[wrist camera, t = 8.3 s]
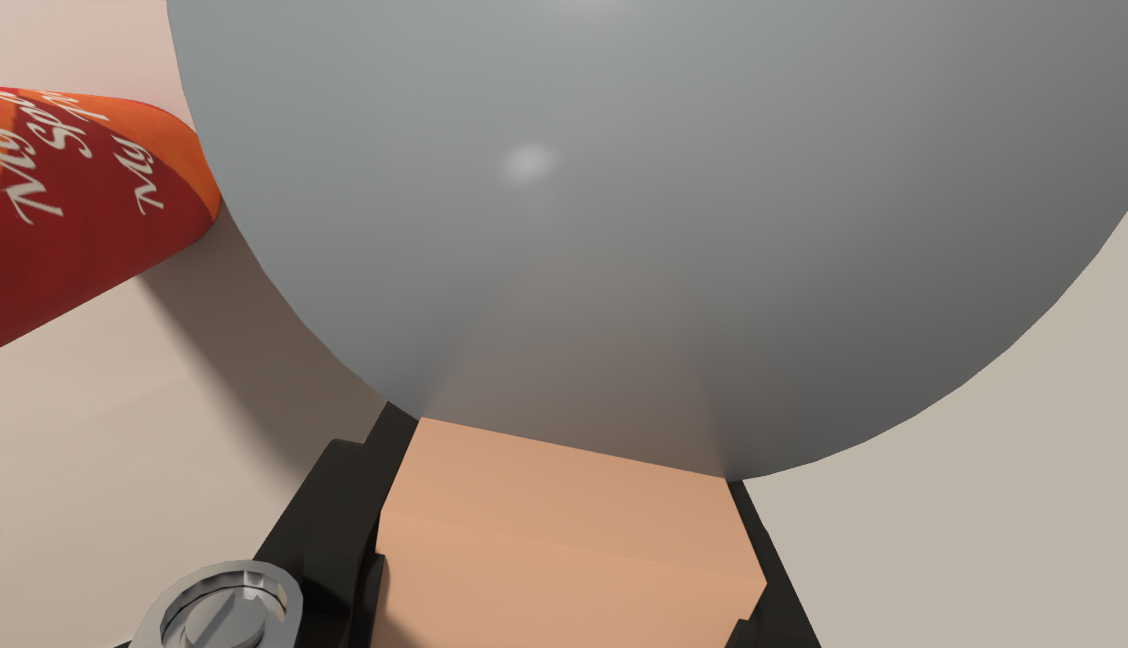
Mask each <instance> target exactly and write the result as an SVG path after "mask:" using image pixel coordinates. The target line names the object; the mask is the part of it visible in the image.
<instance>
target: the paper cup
mask: <svg viewBox="0 0 1128 648" xmlns="http://www.w3.org/2000/svg"><path fill="white" fill-rule="evenodd" d="M220 202H221V192H220V190H219V188H218V186H217V183H216V181H215V179H214V177H213V174H212V172H211V170H210V168H209V166H208V163H207V161H206V159H205V157H204V154H203V151H202V147H201V144H200V141H199V138H198V136H197V135H196V133H195V132H194V131H193V130H192V129H191V128H189V127H188V126H187V125H186V124H185V123H184V122H182V121H181V120H180V119H178V118H177V117H175V116H174V115H172V114H170V113H169V112H167V111H165V110H163V109H160V108H158V107H155V106H153V105H150V104H146V103H142V102H138V101H133V100H126V99H119V98H111V97H102V96H93V95H83V94H72V93H62V92H51V91H40V90H29V89H18V88H6V87H0V347H2V346H4V345H6V344H8V343H10V342H12V341H14V340H16V339H17V338H19V337H21V336H23V335H25V334H27V333H29V332H31V331H32V330H34V329H36V328H38V327H40V326H42V325H44V324H46V323H48V322H49V321H51V320H53V319H55V318H57V317H59V316H61V315H63V314H65V313H66V312H68V311H70V310H72V309H74V308H76V307H78V306H80V305H82V304H83V303H85V302H87V301H89V300H91V299H93V298H95V297H96V296H98V295H100V294H102V293H104V292H106V291H108V290H110V289H111V288H113V287H115V286H117V285H119V284H121V283H123V282H124V281H126V280H128V279H130V278H132V277H134V276H136V275H137V274H139V273H141V272H143V271H145V270H147V269H149V268H150V267H152V266H154V265H156V264H158V263H160V262H161V261H163V260H165V259H167V258H169V257H170V256H172V255H174V254H176V253H177V252H179V251H181V250H183V249H184V248H186V247H187V246H189V245H191V244H192V243H194V242H195V241H197V240H198V239H199V238H201V237H202V236H203V235H204V234H205V233H206V232H207V231H208V230H209V229H210V227H211V226H212V224H213V223H214V221H215V219H216V217H217V214H218V211H219V208H220Z"/></svg>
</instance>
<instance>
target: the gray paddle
mask: <svg viewBox="0 0 1128 648" xmlns="http://www.w3.org/2000/svg"><path fill="white" fill-rule="evenodd" d="M166 1H167V13H168V19H169V24H170V29H171V34H172V39H173V44H174V49H175V54H176V58H177V63H178V68H179V73H180V78H181V83H182V88H183V92H184V95H185V98H186V101H187V104H188V107H189V110H190V113H191V116H192V120H193V123H194V126H195V129H196V132H197V135H198V138H199V141H200V144H201V147H202V151H203V154H204V157H205V159H206V161H207V163H208V166H209V168H210V170H211V172H212V174H213V177H214V179H215V181H216V183H217V186H218V188H219V190H220V192H221V194H222V197H223V199H224V201H225V203H226V205H227V208H228V210H229V212H230V214H231V217H232V219H233V220H234V222H235V224H236V225H237V227H238V229H239V230H240V232H241V234H242V235H243V237H244V239H245V240H246V242H247V244H248V245H249V247H250V249H251V251H252V252H253V254H254V256H255V257H256V259H257V261H258V262H259V264H260V266H261V267H262V269H263V271H264V272H265V274H266V275H267V276H268V278H269V279H270V280H271V282H272V283H273V284H274V286H275V287H276V288H277V290H278V291H279V292H280V293H281V295H282V296H283V297H284V299H285V300H286V301H287V303H288V304H289V305H290V307H291V308H292V309H293V311H294V312H295V313H296V315H297V316H298V317H299V319H300V320H301V321H302V322H303V323H304V324H305V325H306V326H307V327H308V328H309V329H310V330H311V332H312V333H313V334H314V335H315V336H316V337H317V338H318V339H319V340H320V341H321V342H322V343H323V344H324V345H325V346H326V347H327V348H328V349H329V350H330V351H331V352H332V354H333V355H334V356H335V357H336V358H337V359H338V360H339V361H340V362H341V363H342V364H344V365H345V366H346V367H347V368H348V369H350V370H351V371H352V372H353V373H354V374H356V375H357V376H358V377H359V378H360V379H362V380H363V381H364V382H365V383H366V384H368V385H369V386H370V387H371V388H372V389H374V390H375V391H376V392H377V393H378V394H380V395H381V396H382V397H383V398H385V399H386V400H388V401H389V402H391V403H392V404H394V405H395V406H397V407H398V408H400V409H401V410H403V411H404V412H406V413H407V414H409V415H410V416H412V417H414V418H415V419H417V420H418V421H419V423H418V426H417V428H416V430H415V433H414V435H413V437H412V440H411V442H410V445H409V447H408V449H407V452H406V454H405V456H404V459H403V461H402V463H401V466H400V468H399V470H398V473H397V475H396V477H395V480H394V482H393V485H392V487H391V489H390V492H389V494H388V496H387V499H386V501H385V503H384V506H383V508H382V510H381V516H380V523H379V529H378V536H377V543H376V549H375V553H378V554H383V555H385V558H384V564H383V571H382V577H381V583H380V589H379V596H378V602H377V608H376V615H375V621H374V627H373V633H372V640H371V646H370V648H724V647H725V645H726V643H727V641H728V639H729V637H730V635H731V633H732V631H733V629H734V627H735V625H736V623H737V621H738V619H744V620H748V619H749V618H750V616H751V614H752V612H753V610H754V608H755V606H756V604H757V602H758V600H759V598H760V596H761V594H762V592H763V590H764V588H765V586H766V584H767V582H766V579H765V577H764V575H763V572H762V570H761V567H760V565H759V562H758V560H757V557H756V555H755V552H754V550H753V547H752V545H751V542H750V540H749V538H748V535H747V533H746V530H745V528H744V525H743V523H742V520H741V518H740V515H739V513H738V510H737V508H736V505H735V503H734V500H733V498H732V496H731V493H730V491H729V488H728V486H727V482H733V481H739V480H744V479H749V478H755V477H761V476H766V475H770V474H773V473H776V472H780V471H784V470H787V469H791V468H794V467H797V466H801V465H805V464H808V463H812V462H815V461H818V460H820V459H823V458H825V457H827V456H830V455H833V454H835V453H838V452H840V451H843V450H845V449H848V448H850V447H853V446H856V445H858V444H861V443H863V442H865V441H867V440H869V439H871V438H873V437H875V436H877V435H879V434H881V433H883V432H885V431H887V430H889V429H890V428H893V427H894V426H896V425H898V424H900V423H902V422H904V421H906V420H908V419H910V418H912V417H914V416H915V415H917V414H918V413H920V412H922V411H923V410H925V409H926V408H928V407H929V406H931V405H932V404H934V403H936V402H937V401H939V400H940V399H942V398H943V397H945V396H946V395H948V394H949V393H951V392H953V391H954V390H956V389H957V388H959V387H960V386H962V385H963V384H964V383H966V382H967V381H968V380H969V379H970V378H972V377H973V376H974V375H976V374H977V373H978V372H979V371H981V370H982V369H983V368H985V367H986V366H987V365H988V364H990V363H991V362H992V361H993V360H995V359H996V358H997V357H998V356H1000V355H1001V354H1002V353H1003V352H1005V351H1006V350H1007V349H1008V348H1010V347H1011V346H1012V345H1013V344H1014V343H1015V342H1016V341H1017V340H1018V339H1019V338H1020V337H1021V336H1022V335H1023V334H1024V333H1025V332H1026V331H1027V330H1028V329H1029V328H1030V327H1031V326H1032V325H1033V324H1035V322H1037V321H1038V320H1039V319H1040V318H1041V317H1042V316H1043V315H1044V314H1045V313H1046V312H1047V311H1048V310H1049V309H1050V308H1051V307H1052V306H1053V305H1054V304H1055V303H1056V302H1057V301H1058V300H1059V298H1060V297H1061V296H1062V295H1063V294H1064V292H1065V291H1066V290H1067V289H1068V288H1069V286H1070V285H1071V284H1072V283H1073V282H1074V281H1075V280H1076V278H1077V277H1078V276H1079V275H1080V274H1081V273H1082V271H1083V270H1084V269H1085V268H1086V267H1087V266H1088V264H1089V263H1090V262H1091V261H1092V260H1093V259H1094V257H1095V256H1096V255H1097V254H1098V252H1099V251H1100V249H1101V248H1102V247H1103V245H1104V244H1105V242H1106V241H1107V239H1108V238H1109V237H1110V235H1111V234H1112V232H1113V231H1114V229H1115V228H1116V227H1117V225H1118V224H1119V222H1120V221H1121V219H1122V218H1123V216H1124V215H1125V214H1126V212H1127V211H1128V0H166Z"/></svg>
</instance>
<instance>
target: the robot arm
mask: <svg viewBox="0 0 1128 648" xmlns="http://www.w3.org/2000/svg"><path fill="white" fill-rule="evenodd" d="M418 423H419V421H418V420H417V419H415V418H414V417H412V416H410V415H409V414H407V413H406V412H404V411H403V410H401V409H400V408H398V407H397V406H395V405H394V404H392V403H391V402H389V401H388V402H387V403H386V405H385V407H384V409H383V411H382V412H381V414H380V416H379V418H378V420H377V421H376V423H375V425H374V427H373V428H372V430H371V432H370V434H369V436H368V437H367V439H366V441H365V443H364V444H361V443H355V442H350V441H345V440H340V439H334V440H332V441H331V442H330V443H329V444H328V446H327V447H326V449H325V450H324V452H323V453H322V455H321V456H320V458H319V459H318V461H317V462H316V464H315V465H314V467H313V468H312V470H311V471H310V473H309V474H308V476H307V477H306V479H305V480H304V482H303V483H302V485H301V487H300V488H299V490H298V491H297V493H296V494H295V496H294V497H293V499H292V500H291V502H290V503H289V505H288V506H287V508H286V509H285V511H284V512H283V514H282V515H281V517H280V518H279V520H278V521H277V523H276V524H275V526H274V527H273V529H272V530H271V532H270V533H269V535H268V537H267V538H266V540H265V541H264V543H263V544H262V546H261V547H260V549H259V550H258V552H257V553H256V555H255V556H254V558H253V559H252V560H238V561H226V562H222V563H218V564H215V565H211V566H208V567H204V568H201V569H200V570H198V571H196V572H194V573H192V574H190V575H188V576H186V577H184V578H182V579H180V580H179V581H177V582H176V583H175V584H174V585H172V586H171V587H170V588H169V589H167V590H166V591H165V592H164V593H162V594H161V595H160V596H159V598H158V599H157V600H156V602H155V603H154V604H153V606H152V607H151V608H150V610H149V611H148V612H147V614H146V616H145V617H144V619H143V621H142V623H141V625H140V627H139V628H138V630H137V632H136V634H135V636H134V638H133V639H132V640H131V641H129V642H126V643H124V644H121V645H119V646H117V647H114V648H370V646H371V640H372V633H373V627H374V621H375V615H376V608H377V602H378V596H379V589H380V583H381V577H382V571H383V564H384V558H385V555H383V554H378V553H375V549H376V543H377V536H378V529H379V523H380V516H381V510H382V508H383V506H384V503H385V501H386V499H387V496H388V494H389V492H390V489H391V487H392V485H393V482H394V480H395V477H396V475H397V473H398V470H399V468H400V466H401V463H402V461H403V459H404V456H405V454H406V452H407V449H408V447H409V445H410V442H411V440H412V437H413V435H414V433H415V430H416V428H417V426H418ZM727 486H728V488H729V491H730V493H731V496H732V498H733V500H734V503H735V505H736V508H737V510H738V513H739V515H740V518H741V520H742V523H743V525H744V528H745V530H746V533H747V535H748V538H749V540H750V542H751V545H752V547H753V550H754V552H755V555H756V557H757V560H758V562H759V565H760V567H761V570H762V572H763V575H764V577H765V579H766V582H767V584H766V586H765V588H764V590H763V592H762V594H761V596H760V598H759V600H758V602H757V604H756V606H755V608H754V610H753V612H752V614H751V616H750V618H749V619H748V620H744V619H738V621H737V623H736V625H735V627H734V629H733V631H732V633H731V635H730V637H729V639H728V641H727V643H726V645H725V647H724V648H821V646H820V643H819V641H818V639H817V637H816V635H815V633H814V631H813V628H812V626H811V624H810V622H809V620H808V618H807V616H806V613H805V611H804V609H803V607H802V605H801V603H800V601H799V598H798V596H797V594H796V592H795V590H794V588H793V586H792V583H791V581H790V579H789V577H788V575H787V573H786V571H785V569H784V566H783V564H782V562H781V560H780V558H779V556H778V553H777V551H776V549H775V547H774V545H773V543H772V541H771V538H770V536H769V534H768V532H767V531H766V529H765V527H764V526H763V524H762V522H761V520H760V518H759V515H758V513H757V511H756V509H755V507H754V505H753V503H752V500H751V498H750V497H749V494H748V492H747V490H746V487H745V486H744V483H743V481H742V480H739V481H733V482H727Z"/></svg>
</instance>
